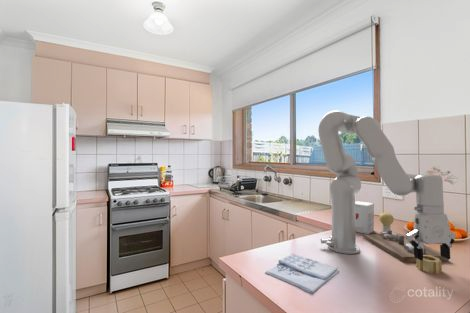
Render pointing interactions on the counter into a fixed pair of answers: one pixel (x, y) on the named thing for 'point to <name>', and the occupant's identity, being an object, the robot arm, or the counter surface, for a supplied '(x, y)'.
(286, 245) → the counter surface
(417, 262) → the brass gear
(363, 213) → the supplement box
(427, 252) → the gear board
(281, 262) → the folded cloth napkin
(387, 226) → the light bulb
